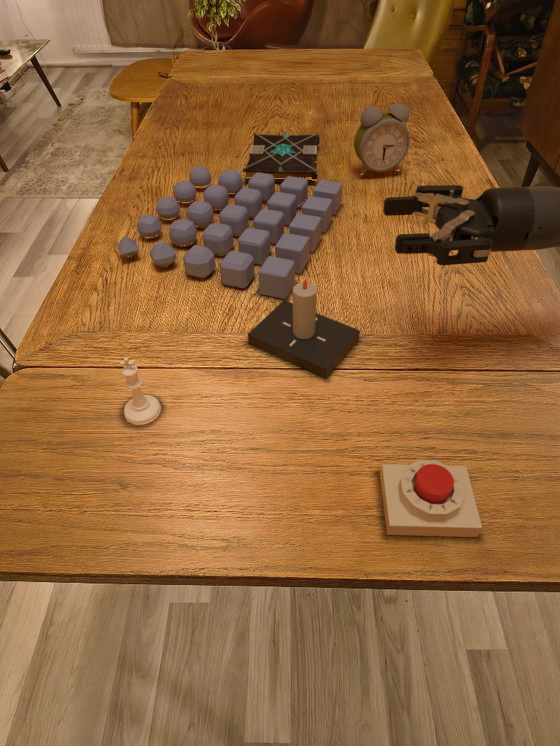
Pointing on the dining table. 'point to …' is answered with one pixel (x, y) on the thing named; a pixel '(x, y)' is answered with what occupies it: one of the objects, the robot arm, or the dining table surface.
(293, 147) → the book
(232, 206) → the blocks
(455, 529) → the box
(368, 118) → the alarm clock
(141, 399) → the chess piece
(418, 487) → the button
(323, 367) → the panel
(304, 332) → the knob
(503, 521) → the dining table surface
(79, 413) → the dining table surface
